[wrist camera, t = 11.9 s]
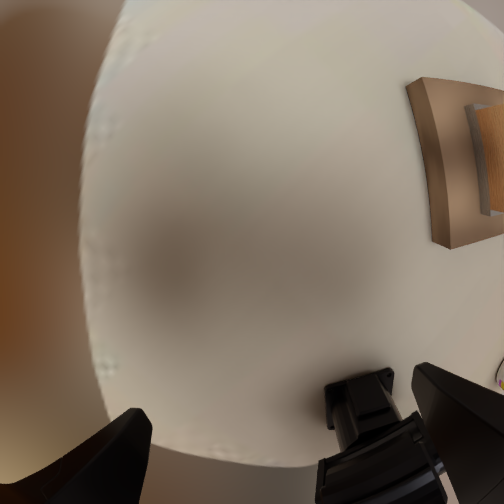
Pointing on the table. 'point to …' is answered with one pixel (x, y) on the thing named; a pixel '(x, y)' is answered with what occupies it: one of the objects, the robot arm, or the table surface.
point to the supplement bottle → (501, 376)
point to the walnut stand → (452, 159)
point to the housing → (488, 154)
